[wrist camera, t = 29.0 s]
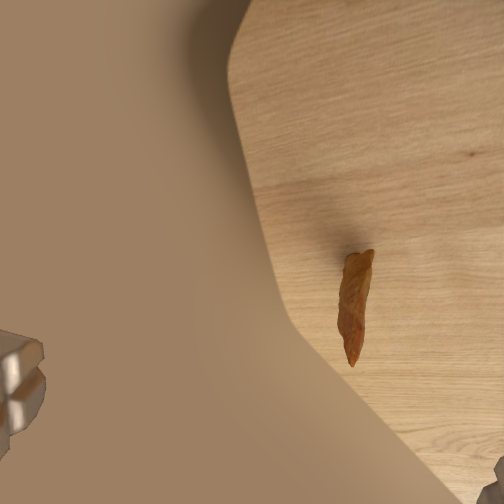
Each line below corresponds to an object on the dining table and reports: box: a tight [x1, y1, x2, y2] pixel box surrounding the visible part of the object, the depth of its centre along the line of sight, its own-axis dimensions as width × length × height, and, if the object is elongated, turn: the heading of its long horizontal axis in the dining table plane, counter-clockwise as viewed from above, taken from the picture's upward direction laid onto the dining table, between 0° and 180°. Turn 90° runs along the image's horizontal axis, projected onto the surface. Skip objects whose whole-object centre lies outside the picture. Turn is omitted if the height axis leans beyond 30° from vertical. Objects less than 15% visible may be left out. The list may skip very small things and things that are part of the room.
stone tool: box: [337, 249, 374, 367], centre depth 33 cm, size 5×2×15 cm, turn 171°
